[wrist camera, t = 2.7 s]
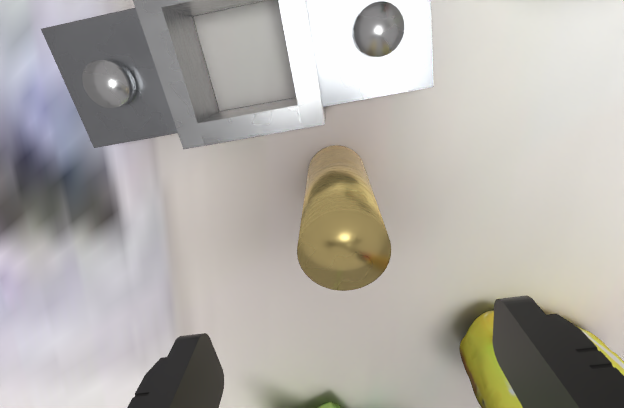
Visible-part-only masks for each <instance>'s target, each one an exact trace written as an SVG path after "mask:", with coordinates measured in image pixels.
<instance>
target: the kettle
mask: <svg viewBox="0 0 624 408" xmlns="http://www.w3.org/2000/svg"><path fill="white" fill-rule="evenodd" d="M319 408H341V406H340V405H339V404H337V403H333V402H327V403H324V404H322V405H321V406H320V407H319Z"/></svg>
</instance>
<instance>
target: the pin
mask: <svg viewBox="0 0 624 408" xmlns="http://www.w3.org/2000/svg"><path fill="white" fill-rule="evenodd" d="M297 255H298V260H299V264H300V266H301V268H302V270H303V271H304V273H305V274H306V275H307V276H308V277H309V278H310V279H311V280H312V281H314V282H315V283H317V284H319V285H321V286H323V287H326V288H329V289H333V290H342V291H345V290H354V289H358V288H361V287H364V286H366V285H368V284H370V283H372V282H373V281H375V280H376V279H377V278H378V277H379V276H380V275H381V274H382V273H383V272H384V270H385V269H386V267H387V265H388V263H389V260H390V256H391V244H390V240H389V237H388V234H387V231H386V228H385V225H384V222H383V220H382V217H381V214H380V211H379V208H378V205H377V202H376V199H375V197H374V194H373V191H372V188H371V185H370V182H369V179H368V177H367V174H366V171H365V168H364V165H363V162H362V160H361V158H360V157H359V156H358V155H357V153H355V152H354V151H353V150H351V149H349V148H347V147H344V146H330V147H326V148H324V149H322V150H320V151H319V152H318V153H317V154H316V155H315V156H314V157H313V159H312V160H311V162H310V165H309V169H308V176H307V183H306V190H305V197H304V204H303V211H302V219H301V226H300V233H299V240H298V247H297Z"/></svg>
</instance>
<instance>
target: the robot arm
mask: <svg viewBox="0 0 624 408" xmlns="http://www.w3.org/2000/svg"><path fill="white" fill-rule="evenodd" d="M492 342H493V349H494V353H495V356H496V359H497V362H498V364H499V366H500V368H501V370H502V371H503V373H504V375H505V377H506V378H507V380H508V382H509V384H510V386H511V387H512V389H513V391H514V393H515V394H516V396H517V398H518V400H519V401H520V403H521V405H522V407H523V408H624V376H623V374H622V373H621V372H620V371H619V370H618V369H617V368H616V367H615V368H614V367H613V366H612V363H611V362H610V361H609V359H608V358H607V357H606V356H605V355H604V354H603V353H602V352H601V351H598V349H597V347H596V345H595V344H594V343H593V342H592V341H591V340H590V339H589V338H588V337H587V336H586V335H585V334H584V333H583V332H582V330H581V329H580V328H578V327H577V326H575V325H573V324H572V323H570V322H569V321H567V320H565V319H564V318H562V317H561V316H559V315H557V314H551V315H546V314H545V313H544V312H543V311H542V310H541V309H540V307H539V306H538V305H537V304H536V303H535V301H534V300H533V299H532V298H530V297H529V296H520V297H511V298H503V299H497V300H496V301H495V304H494V320H493V339H492ZM223 389H224V374H223V369H222V367H221V364H220V362H219V359H218V357H217V355H216V352H215V350H214V347H213V345H212V342H211V340H210V338H209V336H208V335H207V334H206V333H204V334H195V335H187V336H180V337H178V338H177V339H176V341H175V343H174V345H173V347H172V349H171V351H170V353H169V355H168V357H165V358H160V359H159V361H158V362H157V363H156V364H155V365H154V366H153V367H152V368H151V369H150V370H149V371H148V372H147V374H146V375H145V376H144V378H143V380H142V382H141V384H140V385H139V387H138V389H137V391H136V393H135V397H134V398H132V400H131V402H130V404H129V406H128V408H219V404H220V401H221V397H222V394H223Z"/></svg>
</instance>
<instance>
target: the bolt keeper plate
mask: <svg viewBox="0 0 624 408" xmlns="http://www.w3.org/2000/svg"><path fill="white" fill-rule="evenodd" d="M260 1H265V0H133V2H134V5H135V8H132V9H128V10H124V11H119V12H115V13H110V14H106V15H101V16H97V17H92V18H88V19H83V20H79V21H74V22H70V23H65V24H61V25H56V26H52V27H47V28H43V29H41V30H42V33H43V35H44V37H45V39H46V41H47V44H48V46H49V48H50V50H51V53H52V55H53V57H54V59H55V62H56V64H57V66H58V68H59V70H60V73H61V75H62V77H63V79H64V82H65V84H66V86H67V88H68V91H69V93H70V95H71V97H72V100H73V102H74V104H75V106H76V108H77V111H78V113H79V115H80V117H81V120H82V122H83V124H84V126H85V129H86V131H87V133H88V135H89V137H90V140H91V142H92V144H93V146H94V148H97V147H102V146H108V145H113V144H119V143H125V142H130V141H136V140H141V139H147V138H152V137H158V136H164V135H169V134H175V133H178V134H179V137H180V140H181V143H182V146H183V149H188V148H194V147H199V146H205V145H211V144H217V143H222V142H228V141H234V140H240V139H245V138H251V137H257V136H263V135H268V134H274V133H280V132H286V131H291V130H297V129H303V128H309V127H314V126H320V125H325V110H324V107H325V106H330V105H336V104H342V103H347V102H353V101H358V100H364V99H369V98H375V97H380V96H386V95H392V94H397V93H403V92H408V91H414V90H419V89H425V88H431V87H434V82H433V51H432V20H431V0H278V3H279V8H280V13H281V19H282V24H283V29H284V34H285V40H286V45H287V50H288V55H289V61H290V66H291V71H292V77H293V82H294V87H295V92H296V98H291V99H285V100H280V101H274V102H269V103H263V104H258V105H253V106H247V107H242V108H236V109H231V110H225V111H220V112H219V109H218V105H217V102H216V98H215V95H214V91H213V88H212V84H211V81H210V77H209V73H208V70H207V66H206V63H205V59H204V56H203V52H202V49H201V45H200V42H199V38H198V35H197V31H196V28H195V24H194V20H193V17H192V16H196V15H200V14H205V13H210V12H214V11H219V10H223V9H228V8H233V7H237V6H242V5H247V4H251V3H256V2H260Z"/></svg>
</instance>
